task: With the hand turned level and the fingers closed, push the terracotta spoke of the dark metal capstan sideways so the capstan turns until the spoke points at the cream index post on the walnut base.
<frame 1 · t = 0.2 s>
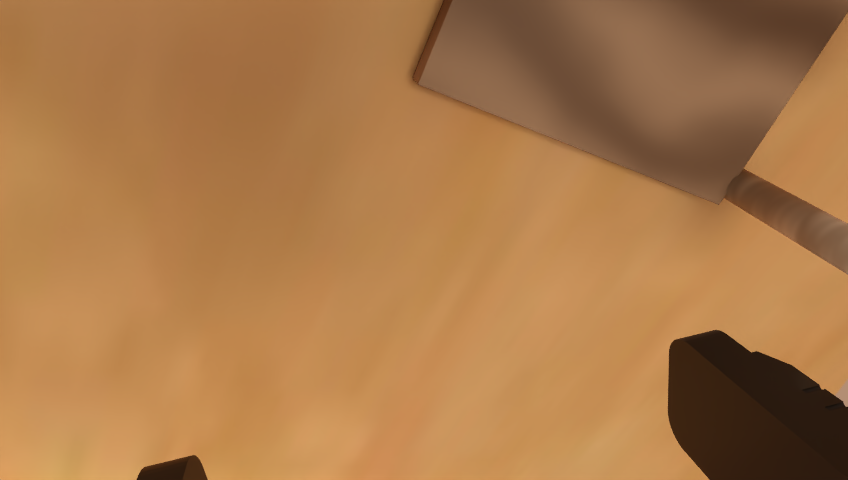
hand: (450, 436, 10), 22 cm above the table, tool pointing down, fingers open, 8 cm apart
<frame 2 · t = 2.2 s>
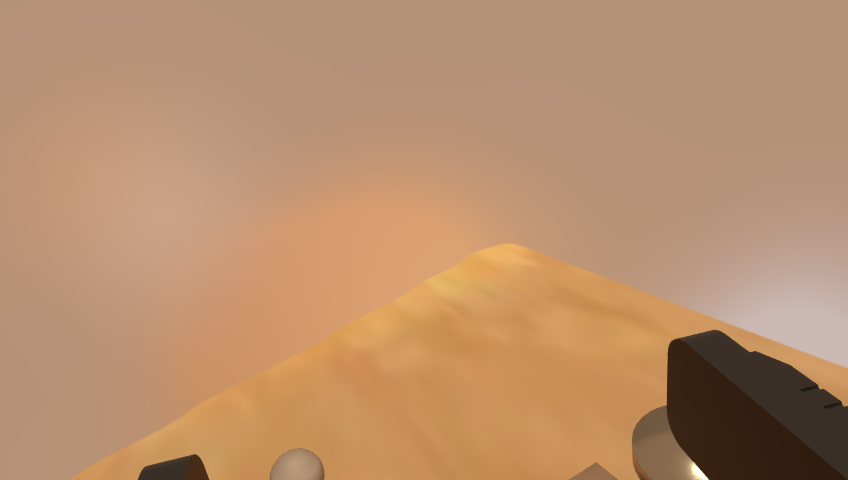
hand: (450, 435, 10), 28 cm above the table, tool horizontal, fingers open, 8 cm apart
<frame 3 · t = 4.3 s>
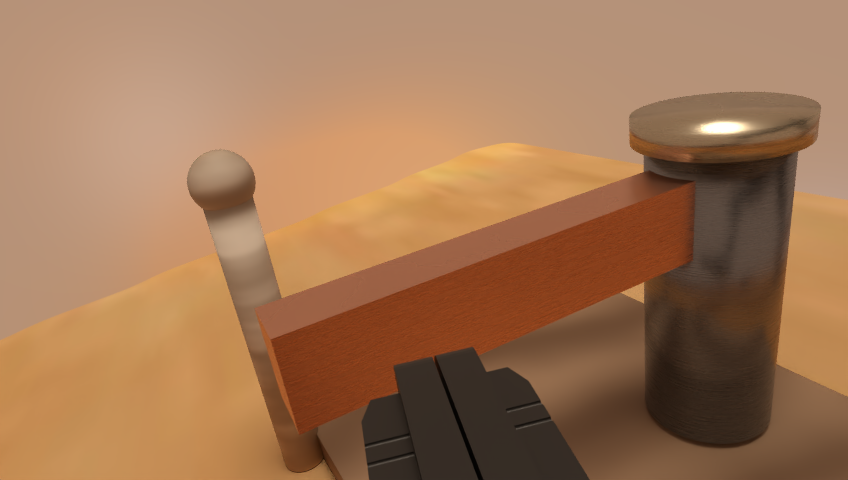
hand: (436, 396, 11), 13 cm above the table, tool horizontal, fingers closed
capstan: (573, 336, 20), point 8 cm above the table, hinge at 32.0°
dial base: (703, 434, 26), on the table
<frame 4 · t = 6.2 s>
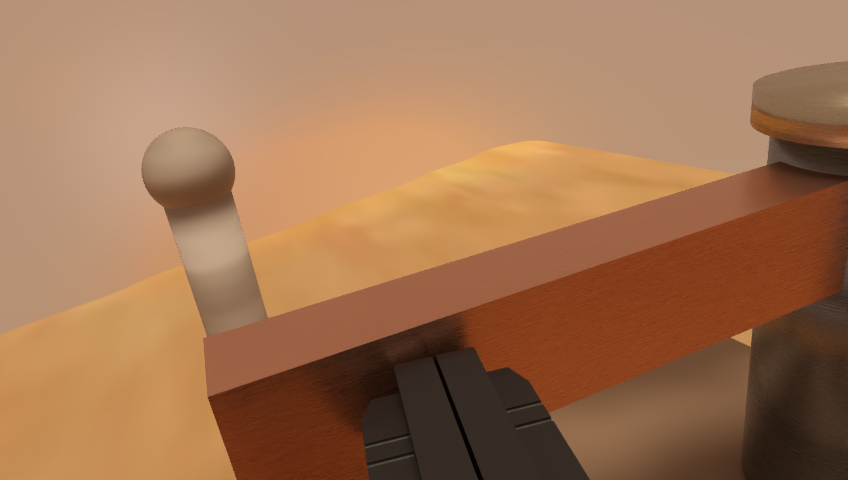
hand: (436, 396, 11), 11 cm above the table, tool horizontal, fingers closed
capstan: (663, 388, 15), point 8 cm above the table, hinge at 28.3°, touching gripper
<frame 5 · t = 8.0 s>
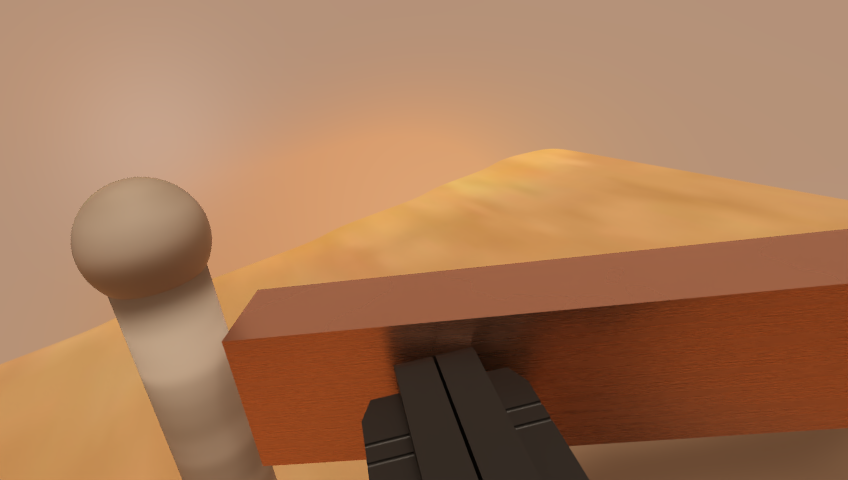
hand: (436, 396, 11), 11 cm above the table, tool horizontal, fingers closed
capstan: (752, 462, 12), point 8 cm above the table, hinge at 2.4°, touching gripper
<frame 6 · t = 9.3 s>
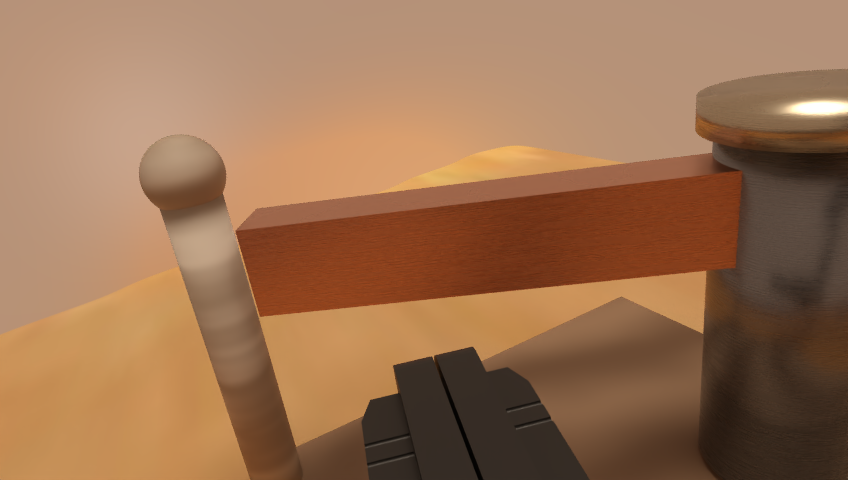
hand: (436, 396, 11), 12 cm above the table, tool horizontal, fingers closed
capstan: (571, 315, 19), point 8 cm above the table, hinge at 2.3°
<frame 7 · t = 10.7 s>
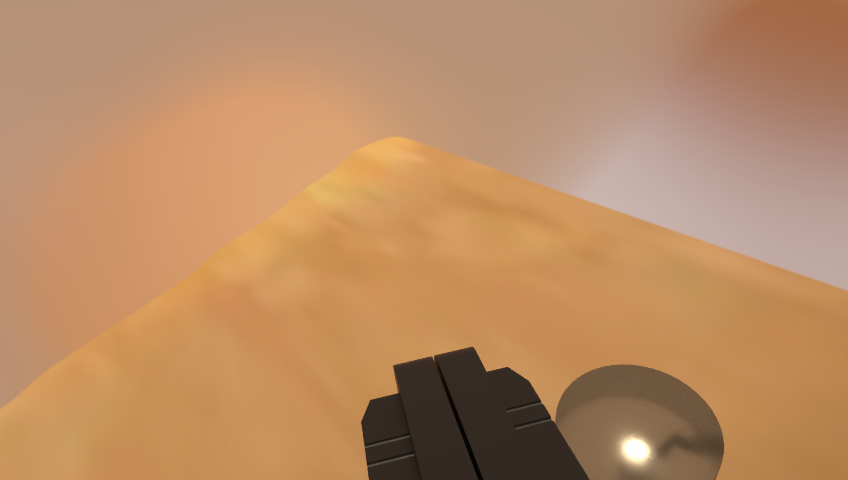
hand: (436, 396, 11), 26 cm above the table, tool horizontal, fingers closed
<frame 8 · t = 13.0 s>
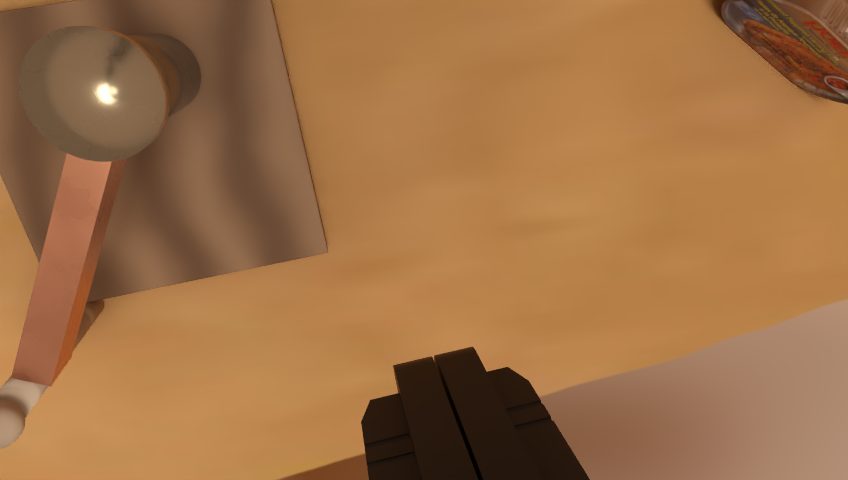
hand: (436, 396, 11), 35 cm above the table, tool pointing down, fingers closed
tin: (770, 38, 47), on the table
capstan: (102, 196, 34), point 8 cm above the table, hinge at 2.3°
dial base: (167, 71, 40), on the table
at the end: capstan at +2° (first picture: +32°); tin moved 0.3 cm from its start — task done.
